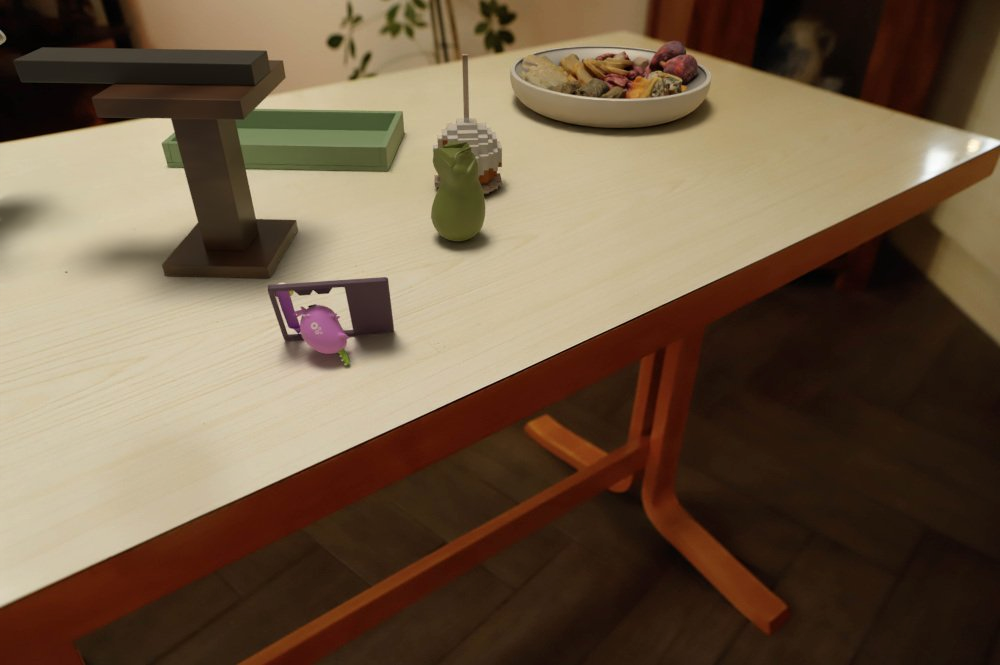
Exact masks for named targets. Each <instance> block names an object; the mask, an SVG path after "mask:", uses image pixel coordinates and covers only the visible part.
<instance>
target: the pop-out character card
mask: <svg viewBox="0 0 1000 665" xmlns="http://www.w3.org/2000/svg"><path fill="white" fill-rule="evenodd" d="M335 288H344V291H345V297H346V301H347V306H348V311H349V317H350V321H351V326H352V329H345V330H344V328H343V327H342V325H341V323H340V321H339V319H340V318H341V316H340V315H338V313H337V312H335V311H334V310H333V309H332V308H330V307H328V306H325V305H322V304H321V305H320V304H317V303H315V304H310V305H307V308H306V307H304V306H300V309H299V310H295V307H294V304H293V301H292V296H293V295H294V293H296V294H297V295H299V296H311V294H312V293H313V292H315V293H316V294H317V295H326V294H327V295H328V294H330V292H331V291H332V289H335ZM390 291H391V290H390V282H389V278H388V277H387V276H381V277H366V278H352V279H339V280H338V279H335V280H322V281H321V280H320V281H307V282H293V283H286V282H278V283H277V284H269V285H268V286H267V294H268V296H269V299H270V302H271V305H272V309H273V311H274V314H275V316H276V320H277V323H278V326H279V329H280V333H281V334H282V338H283V340H284V341H294V340H303V341H304V342H305V343H306V345H308V346H309V347H310V348H311V349H313V350H314V351H316V352H318V353H322V354H327V355H332V354H336V353H337V354H338V355H339V358H342V359H341V360H340V361H342V362H344V364H343V365H344V366H349V365H350V364H351V362H350V358H349V356H348V355H347V352H346V350H345V348H346V346H347V343H348V339H350V336H362V335H374V334H375V335H376V334H386V333H387V334H388V333H393V332H395V326H394V325H395V324H394V317H393V309H392V300H391V292H390ZM277 299H278V300H277ZM278 302H279V303H278ZM279 305H280V306H279ZM282 315H283V316H284V317H283V316H282ZM300 316H301V317H300ZM298 317H300V321H299V319H298ZM283 318H284V319H285V321H286V324H287V327H286V325H285V321H284V319H283ZM287 328H289V329H292V330H294V332H296V333H292V334H289V333H288V330H287Z"/></svg>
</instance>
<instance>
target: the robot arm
mask: <svg viewBox="0 0 1000 665" xmlns="http://www.w3.org/2000/svg"><path fill="white" fill-rule="evenodd" d="M6 40H7V36H6V35H5V33H4V32H3V31H2V29H0V46H1V45H2V44H4V43H5V42H6Z"/></svg>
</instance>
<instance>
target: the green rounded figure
mask: <svg viewBox="0 0 1000 665" xmlns="http://www.w3.org/2000/svg"><path fill="white" fill-rule="evenodd" d="M432 164H433V168H434V170H435V171H436V173H437V175H439V177H440V185H439V187H437V188H438V189H437V191H436V193H435V196H434V197H433V198H434V199H433V201H432V205H431V211H430V212H431V213H430V216H431V222H432V225H433V227H434V229H435V231H436V232H437V234H438V235H440V236H441V237H442V238H444V239H445V240H447V241H452V242H465V241H469V240H470V239H473V237H475V236H476V235H477V234H478V233H479V232H480V231H481V229H482V228H483V226H484V223H485V217H486V200H485V194H484V193H483V190H482V187H481V184H480V182H479V179H478V173H479V167H478V162H477V160H476V157H475V155H474V154H473V153H472V152H471V147H470V146H469V144H468V143H467V142H465V143H459V142H455V141H452V142H449V143H448V144H446V145H444V146H443V147H441V148H438V149H436V150H434V156H432Z"/></svg>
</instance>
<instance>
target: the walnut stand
mask: <svg viewBox="0 0 1000 665" xmlns="http://www.w3.org/2000/svg"><path fill="white" fill-rule="evenodd" d="M268 60H269V66H270V72H269V73H268V74H267V75H266V76H265V77H264V78H263V79H261V80H260V81H259V82H258V83H257V84H256V85H255V86H243V85H179V84H115V83H112V85H110V86H109V87H106V88H105V89H103V90H102V91H100V92H98V93H96V94H95V95H93V96H92V97H91V101H92V104H93V108H94V110H95V114H96V117H97V118H114V119H115V118H117V119H119V118H121V119H123V118H124V119H170V121H171V124H172V127H173V128H172V129H173V133H174V132H175V136H176V139H177V143H178V147H179V151H180V155H181V159H182V162H183V166H184V167H183V170H184V173H185V178H186V181H187V186H188V189H189V194H190V196H191V201H192V204H193V208H194V212H195V216H196V220H197V223H196V224H195V225H194V226H193V227H192V228H191V230H190V232H188V234H186V236H185V237H184V238H183V239H182V241H180V243H179V244H178V245H177V246H176V248H174V249H173V251H172V252H171V253H170V254H169V256H168V257H167V258H166V259H165V261H164V262H163V263H162V264H161V268H162V271H163V275H164V276H165V277H195V278H196V277H197V278H198V277H201V278H202V277H203V278H237V279H238V278H239V279H241V278H243V279H244V278H245V279H270V278H271V276H272V275H273V273H274V271H275V270H276V268H277V267H278V265H279V263H280V261H281V260H282V258H283V256H284V255H285V253H286V251H287V249H288V248H289V246H290V244H291V242H292V241H293V239H294V237H295V236H296V234H297V232H298V231H299V228H298V222H297V219H276V218H275V219H271V218H269V219H268V218H256V213H255V208H254V203H253V198H252V193H251V189H250V184H249V179H248V174H247V168H245V164H244V159H243V154H242V150H241V145H240V140H239V135H238V130H237V126H236V121H235V120H244V119H245V118H246V117H247V116H248V115H249V114H250V113H251V112H252V111H253V110H254V109H257V107H258V106H259V105H261V103H262V102H263V101H264V100H266V98H267V97H268V96H269V95H270V94H271V93H272V92H273V91H274V90H276V88H277V87H278V86H279V85H280V84H281V83H283V81H284V80H285V79H286V78H287V77H286V72H285V65H284V60H283V59H281V60H278V59H277V60H276V59H268Z"/></svg>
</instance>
